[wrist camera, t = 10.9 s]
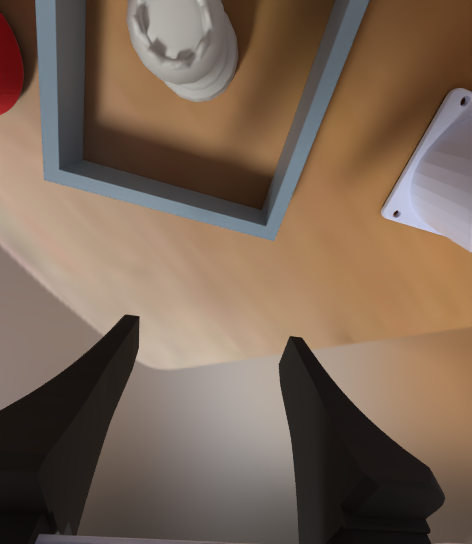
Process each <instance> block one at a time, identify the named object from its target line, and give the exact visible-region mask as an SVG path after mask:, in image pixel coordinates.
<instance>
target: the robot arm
mask: <svg viewBox="0 0 472 544" xmlns="http://www.w3.org/2000/svg"><path fill="white" fill-rule="evenodd" d="M463 97H465V102H464V104H463V105H460V102H461V99H462V98H463ZM397 210H398V213H397V214H396V215H394V216H393V213H394V212H395V211H397ZM381 214H382V216H383V217H385V218H386V219H389V220H393V221H396V222H399V223H403V224H406V225H409V226H413V227H416V228H419V229H423V230H426V231H429V232H433V233H436V234H439V235H443V236H446V237H448V238H449V239H451V240H452V241H454V242H455V243H457V244H459V245H460V246H462V247H463V248H465V249H466V250H468V251H470V252H471V253H472V92H471V91H468V90H466V89H464V88H455V89H453V90H451V91H450V92H449V93H448V94H447V96H446V97H445V99H444V101H443V103H442V104H441V106H440V108H439V110H438V111H437V113H436V115H435V117H434V118H433V120H432V122H431V124H430V125H429V127H428V129H427V131H426V132H425V134H424V136H423V138H422V139H421V141H420V143H419V145H418V146H417V148H416V150H415V152H414V153H413V155H412V157H411V159H410V160H409V162H408V164H407V166H406V167H405V169H404V171H403V173H402V174H401V176H400V178H399V180H398V181H397V183H396V185H395V187H394V188H393V190H392V192H391V194H390V195H389V197H388V199H387V201H386V202H385V204H384V206H383V208H382V210H381ZM138 349H139V316H133V315H124V316H123V317H122V318H121V319H120V320H119V322H118V323H117V324H116V325H115V326H114V327H113V328H112V329H111V330H110V331H109V332H108V333H107V334H106V335H105V336H104V337H103V338H102V339H101V340H100V341H99V342H97V343H96V344H95V345H94V346H93V347H92V348H91V349H90V350H89V351H87V352H86V353H85V354H84V355H83V356H82V357H80V358H79V359H78V360H77V361H76V362H74V363H73V364H72V365H70V366H69V367H68V368H67V369H65V370H64V371H63V372H61V373H60V374H58V375H57V376H56V377H54V378H53V379H51V380H50V381H48V382H47V383H45V384H44V385H42V386H41V387H39V388H38V389H36V390H35V391H33V392H31V393H30V394H28V395H26V396H25V397H23V398H21V399H19V400H18V401H16V402H14V403H13V404H11V405H9V406H7V407H6V408H4V409H2V410H0V544H250V543H228V542H206V541H205V542H204V541H182V540H159V539H137V538H116V537H93V536H76V535H77V530H78V527H79V524H80V520H81V517H82V513H83V509H84V506H85V502H86V499H87V495H88V492H89V489H90V485H91V482H92V478H93V475H94V472H95V468H96V465H97V462H98V459H99V455H100V452H101V449H102V446H103V443H104V440H105V436H106V433H107V430H108V427H109V424H110V421H111V419H112V416H113V414H114V411H115V409H116V407H117V404H118V402H119V400H120V397H121V395H122V392H123V390H124V388H125V386H126V383H127V381H128V378H129V376H130V374H131V371H132V369H133V366H134V362H135V359H136V356H137V352H138ZM279 375H280V386H281V391H282V396H283V401H284V406H285V410H286V415H287V420H288V425H289V430H290V436H291V442H292V451H293V460H294V471H295V482H296V496H297V510H298V531H299V544H431V542H430V540H429V538H428V535H427V534H429V533H430V528H429V526H428V524H427V521H426V518H427V517H429V516H430V515H431V514H433V513H434V512H435V511H437V510H438V509H439V508H440V507H441V506H442V505H443V503H444V500H445V496H444V493H443V491H442V489H441V488H440V486H439V484H438V482H437V480H436V478H435V477H434V475H433V473H432V471H431V470H430V468H429V467H428V466H426V465H425V464H424V463H422V462H421V461H420V460H418V459H417V458H415V457H414V456H413V455H411V454H410V453H409V452H407V451H406V450H405V449H403V448H402V447H401V446H399V445H398V444H397V443H396V442H395V441H393V440H392V439H391V438H390V437H388V436H387V435H386V434H385V433H384V432H383V431H381V430H380V429H379V428H378V427H377V426H376V425H375V424H374V423H373V422H371V420H369V419H368V418H367V417H366V416H365V415H364V414H363V413H362V412H361V411H360V410H359V409H358V408H357V407H356V406H355V405H354V404H353V403H352V402H351V401H350V399H349V398H348V397H347V396H346V395H345V394H344V393H343V392H342V391H341V389H340V388H339V387H338V386H337V385H336V383H335V382H334V381H333V380H332V379H331V377H330V376H329V375H328V373H327V372H326V371H325V369H324V368H323V367H322V365H321V364H320V363H319V361H318V360H317V358H316V357H315V356H314V354H313V353H312V351H311V350H310V348H309V347H308V346H307V344H306V343H305V341H304V340H303V339H302V338H301V337H293V336H290V337H289V340H288V342H287V345H286V347H285V350H284V353H283V355H282V358H281V360H280V363H279ZM436 544H462V543H436Z"/></svg>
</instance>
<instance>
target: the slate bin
mask: <svg viewBox="0 0 472 544" xmlns="http://www.w3.org/2000/svg"><path fill="white" fill-rule="evenodd" d="M368 3H369V0H335V2H334V5H333V8H332V11H331V14H330V17H329V19H328V22H327V25H326V28H325V31H324V34H323V36H322V39H321V42H320V45H319V48H318V51H317V54H316V56H315V59H314V62H313V65H312V68H311V71H310V74H309V76H308V79H307V82H306V85H305V88H304V91H303V94H302V96H301V99H300V102H299V105H298V108H297V111H296V113H295V116H294V119H293V122H292V125H291V128H290V131H289V133H288V136H287V139H286V142H285V145H284V148H283V151H282V153H281V156H280V159H279V162H278V165H277V168H276V171H275V173H274V176H273V179H272V182H271V185H270V188H269V191H268V193H267V196H266V199H265V202H264V205H263V208H262V210H259V209H256V208H252V207H249V206H245V205H242V204H238V203H235V202H231V201H227V200H224V199H220V198H217V197H213V196H210V195H206V194H203V193H199V192H196V191H192V190H189V189H185V188H181V187H178V186H174V185H171V184H167V183H164V182H160V181H157V180H153V179H150V178H146V177H142V176H139V175H135V174H132V173H128V172H125V171H121V170H118V169H114V168H111V167H107V166H104V165H100V164H96V163H93V162H89V161H86V160H83V137H84V84H85V31H86V0H35V5H36V26H37V46H38V67H39V87H40V108H41V129H42V149H43V170H44V180H46V181H50V182H54V183H57V184H61V185H65V186H69V187H72V188H76V189H80V190H84V191H87V192H91V193H95V194H99V195H102V196H106V197H110V198H114V199H118V200H121V201H125V202H129V203H133V204H136V205H140V206H144V207H148V208H151V209H155V210H159V211H163V212H166V213H170V214H174V215H178V216H181V217H185V218H189V219H193V220H196V221H200V222H204V223H208V224H212V225H215V226H219V227H223V228H227V229H230V230H234V231H238V232H242V233H245V234H249V235H253V236H257V237H260V238H264V239H268V240H272V241H274V240H275V237H276V235H277V232H278V230H279V227H280V225H281V222H282V220H283V217H284V215H285V212H286V210H287V207H288V205H289V202H290V199H291V197H292V194H293V192H294V189H295V187H296V184H297V182H298V179H299V177H300V174H301V172H302V169H303V167H304V164H305V162H306V159H307V157H308V154H309V152H310V149H311V146H312V144H313V141H314V139H315V136H316V134H317V131H318V129H319V126H320V124H321V121H322V119H323V116H324V114H325V111H326V109H327V106H328V104H329V101H330V99H331V96H332V93H333V91H334V88H335V86H336V83H337V81H338V78H339V76H340V73H341V71H342V68H343V66H344V63H345V61H346V58H347V56H348V53H349V51H350V48H351V46H352V43H353V40H354V38H355V35H356V33H357V30H358V28H359V25H360V23H361V20H362V18H363V15H364V13H365V10H366V8H367V5H368Z"/></svg>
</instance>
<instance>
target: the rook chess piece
mask: <svg viewBox="0 0 472 544" xmlns="http://www.w3.org/2000/svg"><path fill="white" fill-rule="evenodd" d="M127 24H128V29H129V33H130V37H131V41H132V45H133V47H134V49H135V50H136V52H137V54H138V56H139V57H140V59H141V61H142V62H143V64H144V66H146V67H147V68H148V69H149V70H150V71H151V72H152V73H154V74H155V75H156V76H157V77H158V78H159V79H161V80H163V81H164V83H165V84H166V85H167V86H168V87H169V88H170V89H172V90H173V91H174V92H175V93H176V94H177V95H179V96H180V97H182V98H185V99H188V100H191V101H194V102H201V101H209V100H212V99H214V98H215V97H217V96H218V95H220V94H221V93H223V92H224V91H225V90H226V88H227V87H228V85H229V84H230V82H231V81H232V79H233V78H234V75H235V71H236V66H237V62H238V58H239V57H238V46H237V36H236V34H235V31H234V29H233V27H232V24H231V22H230V20H229V17H228V15H227V14H226V13H225V11H224V6H223V4H222V2H221V0H128V9H127Z"/></svg>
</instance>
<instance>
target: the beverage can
mask: <svg viewBox="0 0 472 544" xmlns="http://www.w3.org/2000/svg"><path fill="white" fill-rule="evenodd" d="M23 79H24V71H23V62H22V56H21V53H20V49H19V46H18V43H17V41H16V38H15V36H14V34H13V32H12V30H11V28H10V26H9V24H8V23H7V21H6V19H5V18H4V16H3V15H2V13H1V12H0V115H1V114H3V113H5V112H7V111H8V110H10V109H11V108H12V107H13V106H14V105H15V103H16V102H17V100H18V98H19V96H20V94H21V90H22V86H23Z"/></svg>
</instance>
